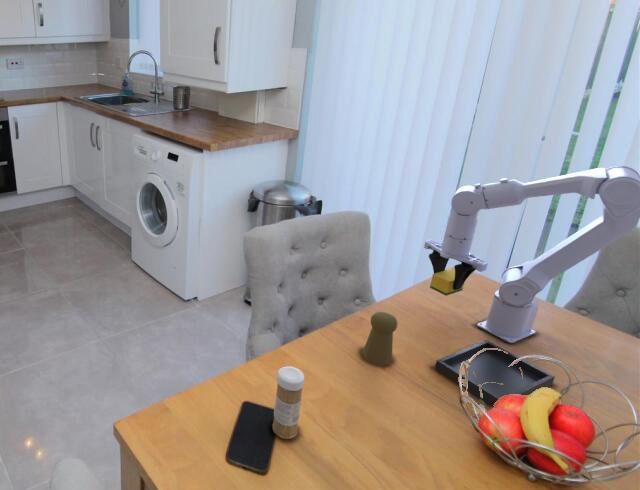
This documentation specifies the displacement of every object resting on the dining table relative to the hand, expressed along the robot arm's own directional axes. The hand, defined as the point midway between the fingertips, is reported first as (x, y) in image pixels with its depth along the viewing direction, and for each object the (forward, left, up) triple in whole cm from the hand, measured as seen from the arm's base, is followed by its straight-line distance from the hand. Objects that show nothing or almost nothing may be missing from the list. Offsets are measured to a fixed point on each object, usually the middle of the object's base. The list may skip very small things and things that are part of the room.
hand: (447, 284), depth 121 cm
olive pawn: (+29, +6, -9) cm, 31 cm away
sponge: (0, 0, -1) cm, 1 cm away
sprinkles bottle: (+62, +14, -9) cm, 64 cm away
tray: (+13, +21, -8) cm, 26 cm away
